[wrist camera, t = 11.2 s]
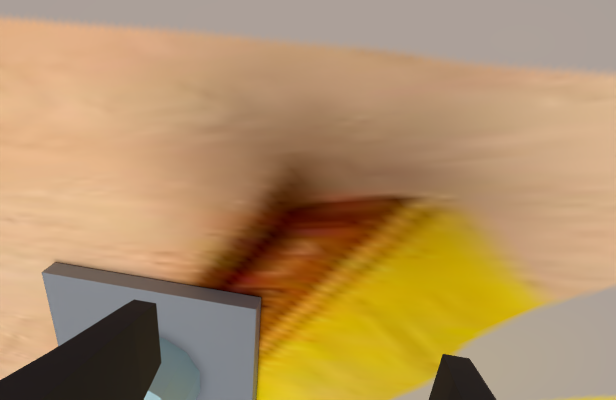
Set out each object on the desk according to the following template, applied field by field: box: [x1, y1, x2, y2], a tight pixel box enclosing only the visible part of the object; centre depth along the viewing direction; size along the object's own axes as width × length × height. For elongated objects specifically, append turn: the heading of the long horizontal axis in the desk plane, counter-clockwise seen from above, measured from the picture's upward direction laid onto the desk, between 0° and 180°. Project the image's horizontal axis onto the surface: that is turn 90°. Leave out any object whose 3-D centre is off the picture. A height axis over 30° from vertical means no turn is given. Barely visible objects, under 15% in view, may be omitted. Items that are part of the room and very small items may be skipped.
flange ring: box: [144, 338, 200, 400], centre depth 22 cm, size 6×6×3 cm
